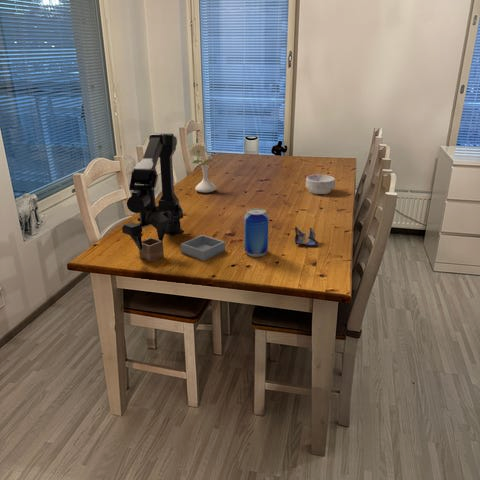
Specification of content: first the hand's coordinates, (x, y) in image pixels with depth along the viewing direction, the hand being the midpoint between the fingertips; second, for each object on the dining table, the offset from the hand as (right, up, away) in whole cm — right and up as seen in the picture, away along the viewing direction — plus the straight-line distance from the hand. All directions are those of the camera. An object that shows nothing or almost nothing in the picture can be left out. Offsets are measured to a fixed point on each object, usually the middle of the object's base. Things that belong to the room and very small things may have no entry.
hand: (151, 246), depth 154 cm
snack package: (+57, +1, +14) cm, 59 cm away
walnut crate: (0, -4, +2) cm, 4 cm away
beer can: (+37, -3, +5) cm, 38 cm away
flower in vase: (+12, +28, +80) cm, 86 cm away
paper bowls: (+74, +27, +77) cm, 110 cm away
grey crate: (+18, -2, +6) cm, 19 cm away
